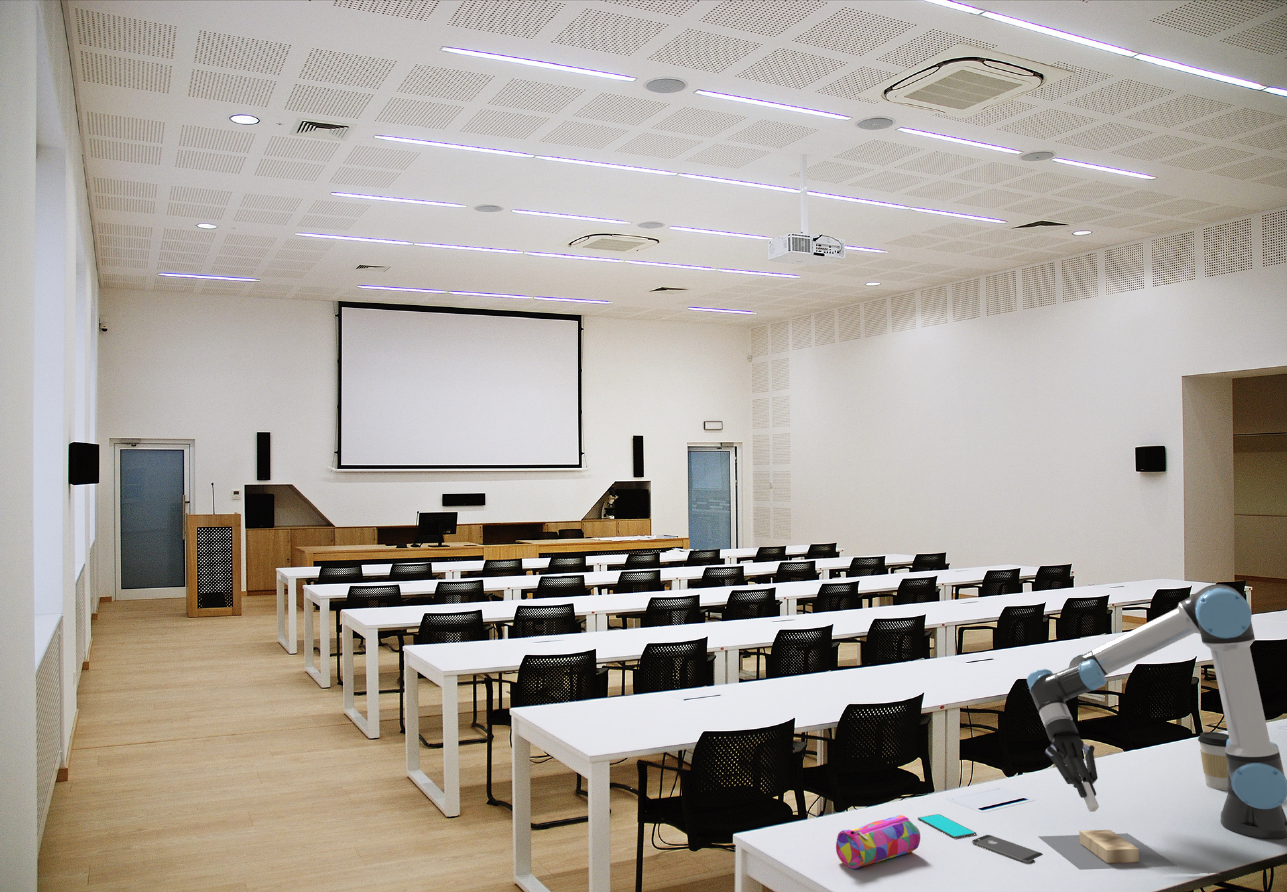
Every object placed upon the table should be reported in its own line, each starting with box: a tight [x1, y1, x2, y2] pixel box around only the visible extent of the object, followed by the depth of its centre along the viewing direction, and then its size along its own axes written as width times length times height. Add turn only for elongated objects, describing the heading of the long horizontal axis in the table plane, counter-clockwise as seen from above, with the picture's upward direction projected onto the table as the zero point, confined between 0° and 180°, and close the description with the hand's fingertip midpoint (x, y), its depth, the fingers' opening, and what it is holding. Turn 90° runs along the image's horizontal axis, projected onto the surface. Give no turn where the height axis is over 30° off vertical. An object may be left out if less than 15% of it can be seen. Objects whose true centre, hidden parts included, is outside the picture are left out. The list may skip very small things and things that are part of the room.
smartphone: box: [917, 813, 977, 839], centre depth 246 cm, size 7×1×15 cm
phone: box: [971, 834, 1044, 865], centre depth 231 cm, size 8×1×16 cm
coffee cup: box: [1197, 731, 1229, 791], centre depth 276 cm, size 10×10×15 cm
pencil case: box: [835, 814, 921, 870], centre depth 226 cm, size 22×9×9 cm, turn 122°
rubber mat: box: [1037, 832, 1178, 870], centre depth 228 cm, size 24×20×1 cm
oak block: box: [1078, 829, 1139, 864], centre depth 227 cm, size 8×3×12 cm
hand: (1094, 808), depth 232 cm, fingers closed
